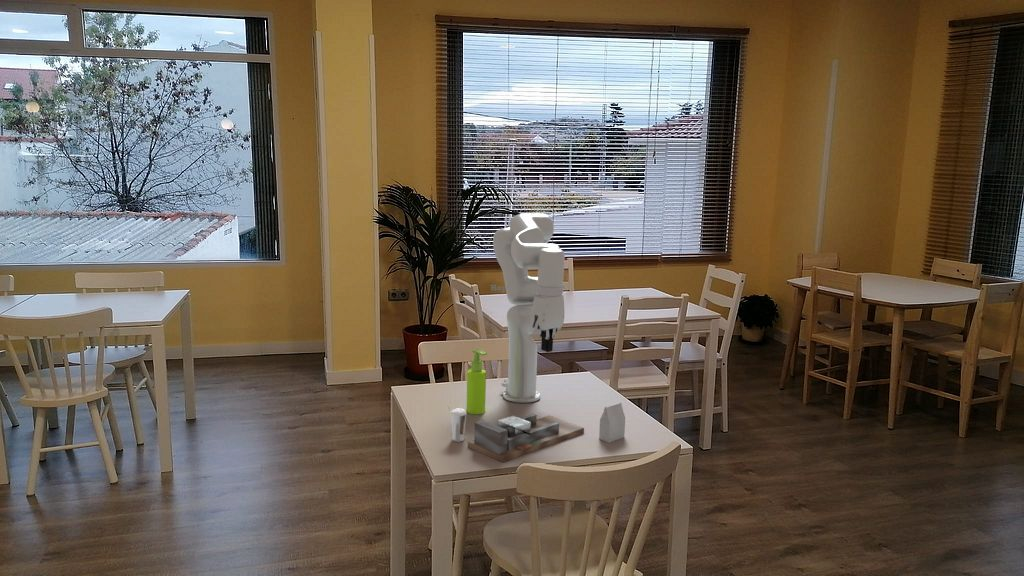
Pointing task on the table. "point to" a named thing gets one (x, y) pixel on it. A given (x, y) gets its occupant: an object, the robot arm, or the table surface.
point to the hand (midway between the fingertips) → (546, 350)
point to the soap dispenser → (476, 385)
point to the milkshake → (458, 424)
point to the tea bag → (612, 423)
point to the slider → (515, 426)
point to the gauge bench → (521, 437)
